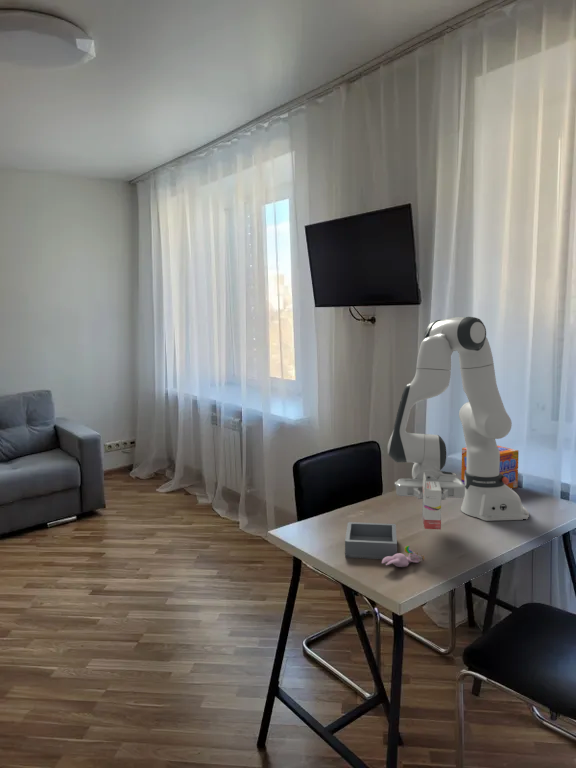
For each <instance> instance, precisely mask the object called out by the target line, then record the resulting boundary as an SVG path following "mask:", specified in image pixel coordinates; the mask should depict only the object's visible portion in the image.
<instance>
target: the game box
mask: <svg viewBox="0 0 576 768" xmlns="http://www.w3.org/2000/svg"><path fill="white" fill-rule="evenodd" d="M497 447H498V449H499V452H500V468H499V473H501V474H502V475H504V476H505V477H507V478H508V480H509V483H508V484H505V485H507V486H508V487H509V488H514V489H517V488H518V483H519V481H518V480H519V479H518V478H519V452H520V451H519V450H518V449H514V448H508V447H506V446H501V445H497ZM466 465H467V451H466V446H465V447H462V448H461V469H460V470H461V471H460V472H461V473H460V475H461V477H460V478H461V479H460V480H461V481H462V482H463V484H464V486H465V471H466Z"/></svg>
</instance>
